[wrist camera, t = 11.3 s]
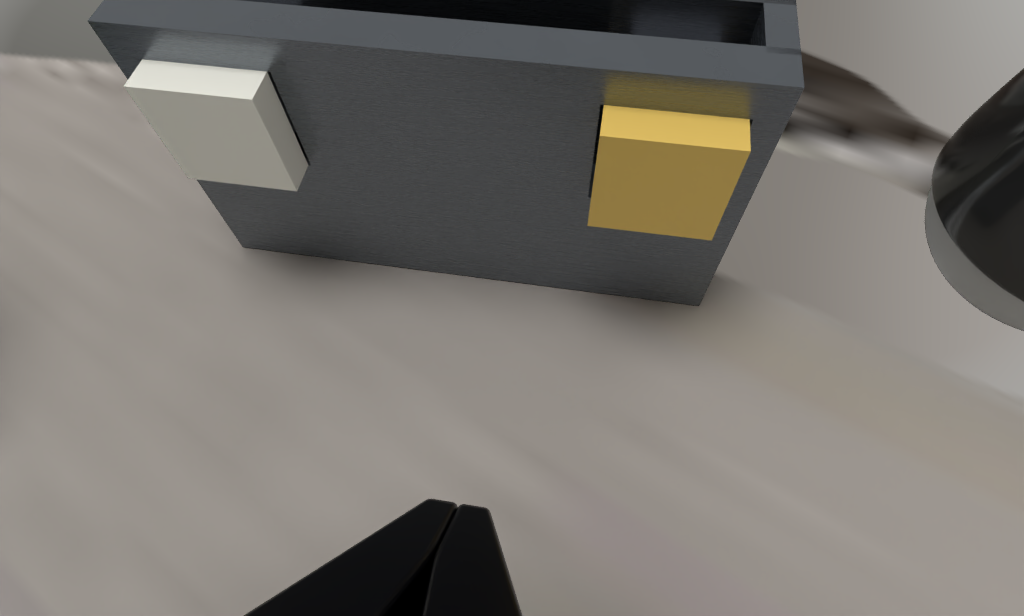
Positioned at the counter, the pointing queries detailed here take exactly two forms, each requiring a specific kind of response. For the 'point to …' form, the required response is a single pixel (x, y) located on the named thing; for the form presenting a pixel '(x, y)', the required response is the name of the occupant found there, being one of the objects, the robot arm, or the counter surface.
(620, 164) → the amber button
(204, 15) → the button panel
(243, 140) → the ivory button
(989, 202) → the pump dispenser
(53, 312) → the counter surface
